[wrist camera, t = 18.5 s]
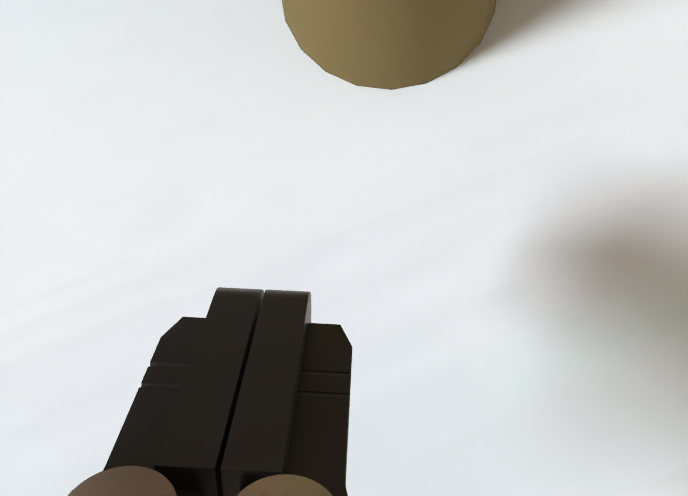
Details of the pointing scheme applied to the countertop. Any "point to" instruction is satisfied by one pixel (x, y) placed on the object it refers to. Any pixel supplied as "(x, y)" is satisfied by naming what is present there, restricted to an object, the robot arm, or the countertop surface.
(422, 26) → the olive pawn figure
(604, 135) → the countertop surface
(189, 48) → the countertop surface
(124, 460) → the robot arm
